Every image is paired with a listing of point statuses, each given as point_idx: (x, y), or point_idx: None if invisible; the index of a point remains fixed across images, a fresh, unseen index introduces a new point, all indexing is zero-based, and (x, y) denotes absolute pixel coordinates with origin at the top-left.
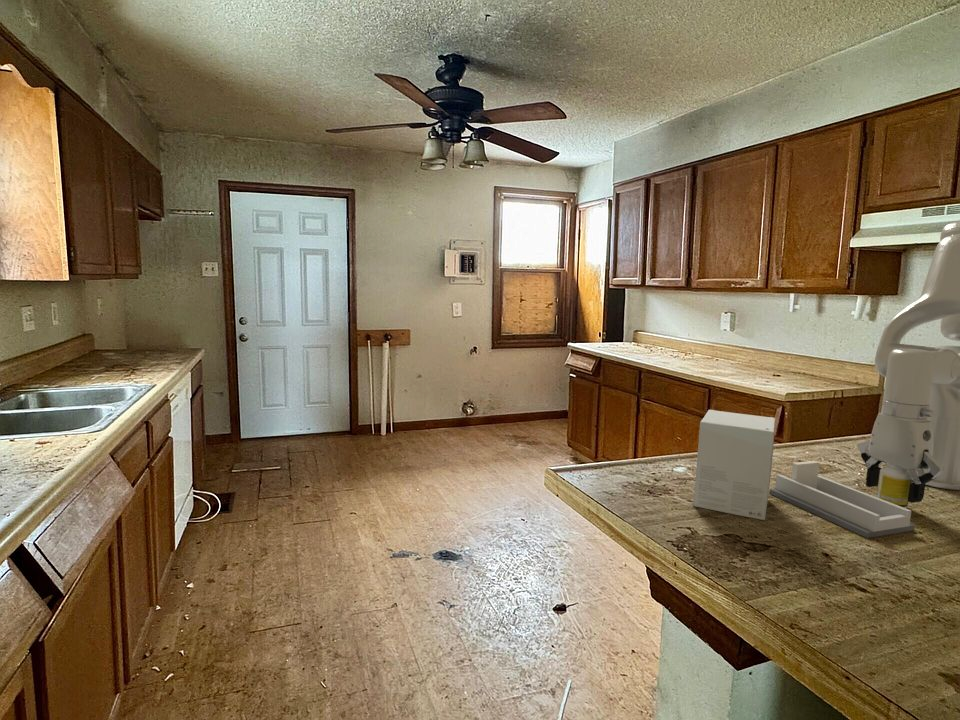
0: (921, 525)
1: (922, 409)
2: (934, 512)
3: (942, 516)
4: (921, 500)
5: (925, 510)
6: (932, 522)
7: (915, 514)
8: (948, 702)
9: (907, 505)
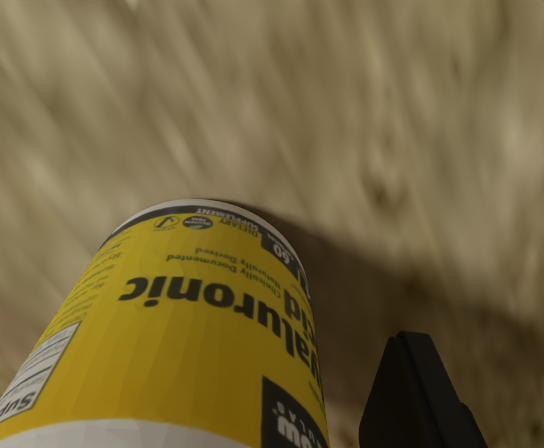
0: None
1: None
2: (456, 117)
3: (528, 155)
4: (427, 340)
5: (392, 142)
6: (506, 340)
7: (383, 302)
8: None
9: (307, 288)
